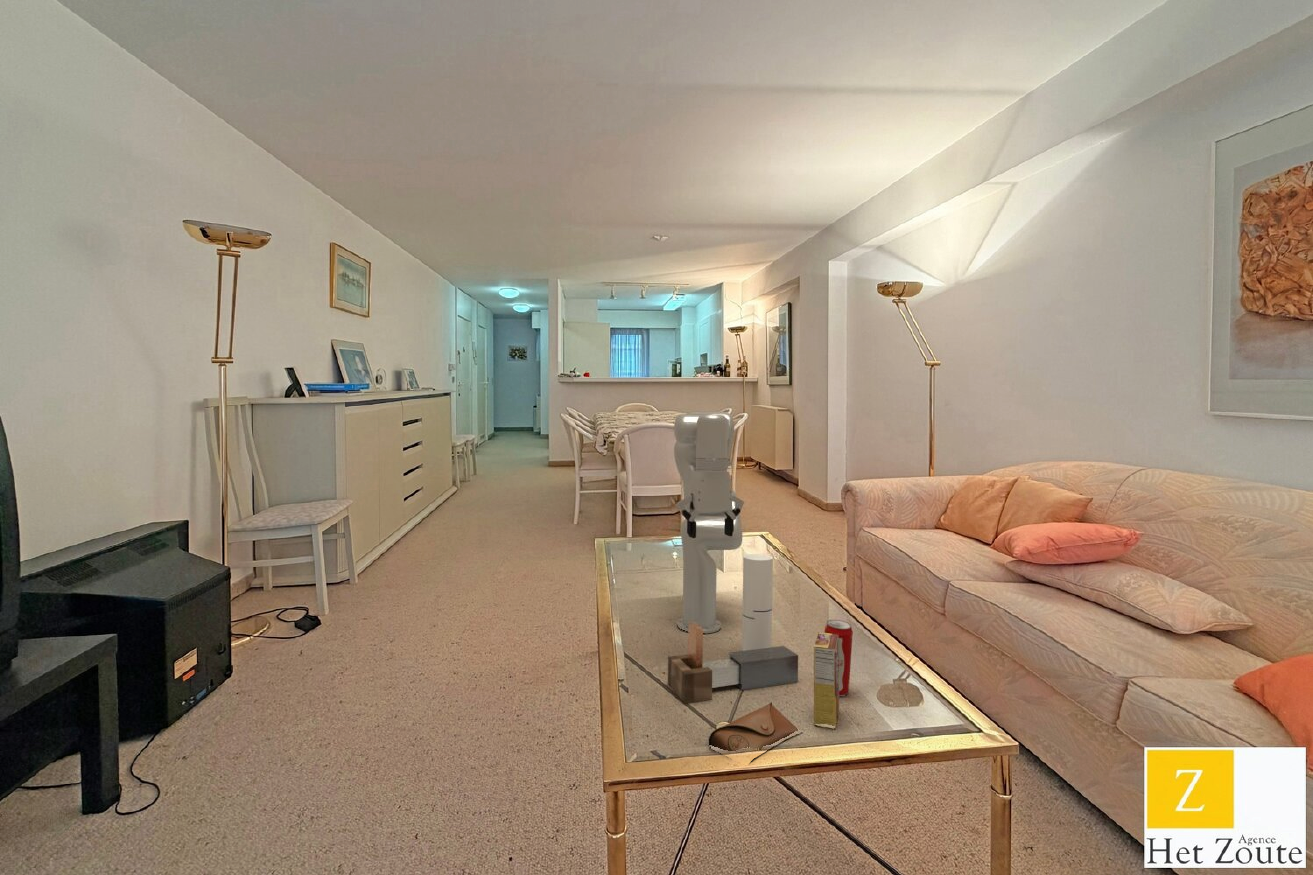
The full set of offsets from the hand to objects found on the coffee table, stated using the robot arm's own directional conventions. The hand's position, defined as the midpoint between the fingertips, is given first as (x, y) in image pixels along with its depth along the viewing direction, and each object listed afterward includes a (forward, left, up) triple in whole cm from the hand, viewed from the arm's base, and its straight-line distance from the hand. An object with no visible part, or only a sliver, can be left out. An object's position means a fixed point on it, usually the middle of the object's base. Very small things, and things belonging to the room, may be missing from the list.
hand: (710, 536), depth 142 cm
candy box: (+33, +10, -31) cm, 46 cm away
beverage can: (+24, +19, -31) cm, 43 cm away
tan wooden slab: (+14, -4, -29) cm, 33 cm away
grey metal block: (+14, +7, -30) cm, 34 cm away
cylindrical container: (+2, +12, -31) cm, 33 cm away
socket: (+14, -11, -30) cm, 35 cm away
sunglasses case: (+36, -7, -31) cm, 48 cm away
